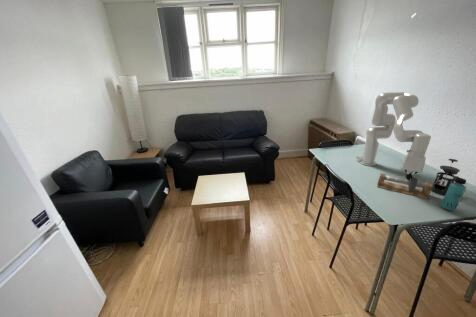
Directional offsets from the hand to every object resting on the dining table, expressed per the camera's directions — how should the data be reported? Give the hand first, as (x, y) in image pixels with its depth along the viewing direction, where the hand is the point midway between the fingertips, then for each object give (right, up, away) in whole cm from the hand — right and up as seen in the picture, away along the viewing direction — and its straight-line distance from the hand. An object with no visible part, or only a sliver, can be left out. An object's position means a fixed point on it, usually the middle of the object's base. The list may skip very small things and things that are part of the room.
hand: (408, 179), depth 134 cm
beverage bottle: (+9, -16, -16) cm, 24 cm away
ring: (+3, -6, +1) cm, 7 cm away
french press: (+22, -8, 0) cm, 24 cm away
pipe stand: (-1, -7, +4) cm, 9 cm away
